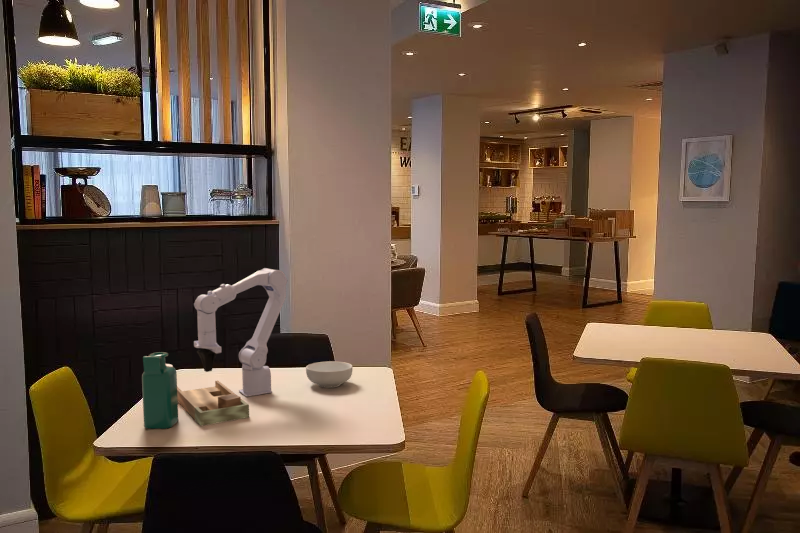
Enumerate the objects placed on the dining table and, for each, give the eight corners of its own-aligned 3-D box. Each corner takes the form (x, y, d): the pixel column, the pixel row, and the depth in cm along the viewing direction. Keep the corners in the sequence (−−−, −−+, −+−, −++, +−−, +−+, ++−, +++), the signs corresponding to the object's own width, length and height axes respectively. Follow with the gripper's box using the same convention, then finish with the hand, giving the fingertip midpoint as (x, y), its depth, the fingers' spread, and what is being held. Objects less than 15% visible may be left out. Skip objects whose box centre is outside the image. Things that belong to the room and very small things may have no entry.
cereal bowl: (361, 382, 245) (361, 364, 244) (333, 394, 231) (333, 374, 230) (325, 376, 254) (325, 358, 253) (296, 386, 240) (296, 367, 239)
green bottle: (153, 419, 204) (150, 349, 202) (180, 420, 204) (177, 349, 202) (139, 430, 194) (136, 357, 192) (168, 430, 194) (165, 357, 192)
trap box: (218, 391, 234) (218, 380, 234) (249, 417, 206) (248, 404, 206) (174, 398, 226) (174, 386, 226) (200, 425, 198) (200, 412, 198)
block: (218, 409, 207) (217, 397, 207) (232, 406, 211) (232, 393, 211) (226, 413, 204) (226, 400, 203) (240, 409, 207) (240, 397, 207)
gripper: (185, 329, 222) (186, 369, 224) (207, 335, 212) (208, 377, 214) (204, 326, 227) (205, 365, 229) (226, 332, 217) (227, 373, 219)
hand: (208, 371), depth 222 cm, fingers closed
